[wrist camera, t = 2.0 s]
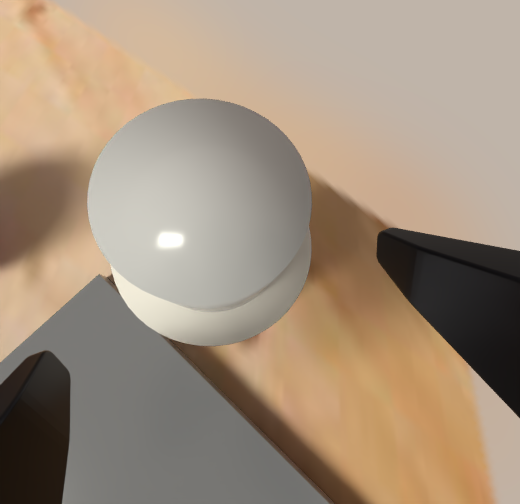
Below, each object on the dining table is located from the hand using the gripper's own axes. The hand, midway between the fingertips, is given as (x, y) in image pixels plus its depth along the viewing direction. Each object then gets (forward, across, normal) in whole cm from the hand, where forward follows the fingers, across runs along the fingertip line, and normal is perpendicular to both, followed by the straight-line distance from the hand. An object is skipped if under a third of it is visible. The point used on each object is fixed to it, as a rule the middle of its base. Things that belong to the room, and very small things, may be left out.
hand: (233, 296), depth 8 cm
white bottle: (+7, 0, +5) cm, 9 cm away
